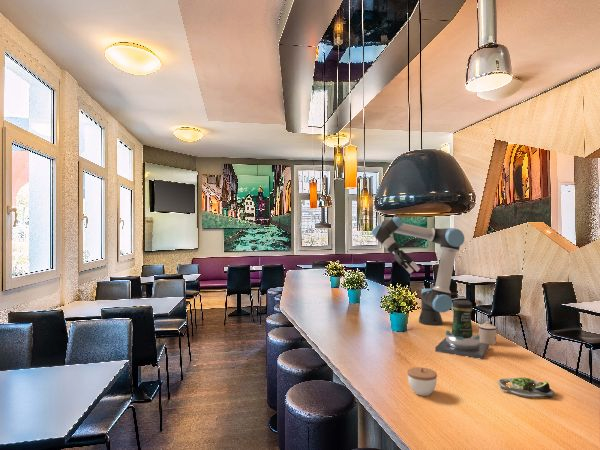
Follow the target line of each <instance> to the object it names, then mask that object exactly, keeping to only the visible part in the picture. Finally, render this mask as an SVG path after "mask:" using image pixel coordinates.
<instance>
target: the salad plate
mask: <svg viewBox="0 0 600 450" xmlns="http://www.w3.org/2000/svg"><path fill="white" fill-rule="evenodd" d="M508 382H510V384H509V385H510V386H508V385H507V386H506V383H508ZM497 384H498V385H499V386H500V387H499V388H500V390H502V391H506V392H508V393H510V392H511V393H510V394H513V395H516V396H519V395H520V396H519V397H523V396H524V398H528V397H532V398H531V399H533V397H548V398H552V397H557V394H555V391H554V390H553V389H552V388H550V383H549V382H548V381H538V380H536V379H532V378H528V377H522V376H521V377H520V376H519V377H511V378H507V377H506V378H499V379H498V381H497ZM533 384H534V385H533ZM509 387H510V388H509Z"/></svg>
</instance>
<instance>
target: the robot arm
mask: <svg viewBox="0 0 600 450" xmlns="http://www.w3.org/2000/svg"><path fill="white" fill-rule="evenodd" d="M393 233H394V234H399V235H403V236H409V237H413V238H418V239H419V238H420V239H423V240H427V241H429V242H431V243H435V244H437V245H439V248H440V250H441V254H440V258H439V264H438V270H437V274H436V280H435V285H434V286H433V287H432V288H422V289H421V293H420V297H421V303H420V304H421V306H420V307H421V311H420V314H419V316H418V322H419V324H423V325H428V326H440V325H443V319H442V318H443V317H442V314H441V313H447V312H448V311H449V310H451V309H452V304H453V300H452V298H451V295H452V292H451V290H450V286H451V281H452V275H453V270H454V265H455V260H456V255H457V253H458V252H459V251H460V247H462V245H463V244H464V242H465V235H464V233H463V231H462V230H460V229H458V228H454V227H450V228H448V227H447V228H436V227H432V228H427V227H424V226H419V225H414V224H408V223H404V222H403V220H402V219H401V218H400V217H399V216H397V217H395V216H393V217H392V218H391V219H384V220H382V221H381V222H380V224H378V225H376V226H374V228H372V230H371V234H372V235H373V237H374V238H375V239H376V240H377V241H378V242H379V243H380V244H381V245H382V246H383V248H384V249H386V250H387V252H388V253H389V254H390V255H392V256H393V257H394V258H395V260H396V263H398V265H399V266H400V267H403V268H404V269H405V270H406V271H407V272H408V274H412V273H413V272H414V271H416V272H419V271H420V269H421V268H420V267H419V266H418V265H417V263H416V262H415V259H414V258H412V257H411V256H410V255H408V254H407V253H406V252H404V251H403V249H400V247H401V246H400V244H399V243H397V242H396V240H395V239H394V238H393V237H392V236H391V235H392V234H393ZM408 263H409V264H408Z"/></svg>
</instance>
